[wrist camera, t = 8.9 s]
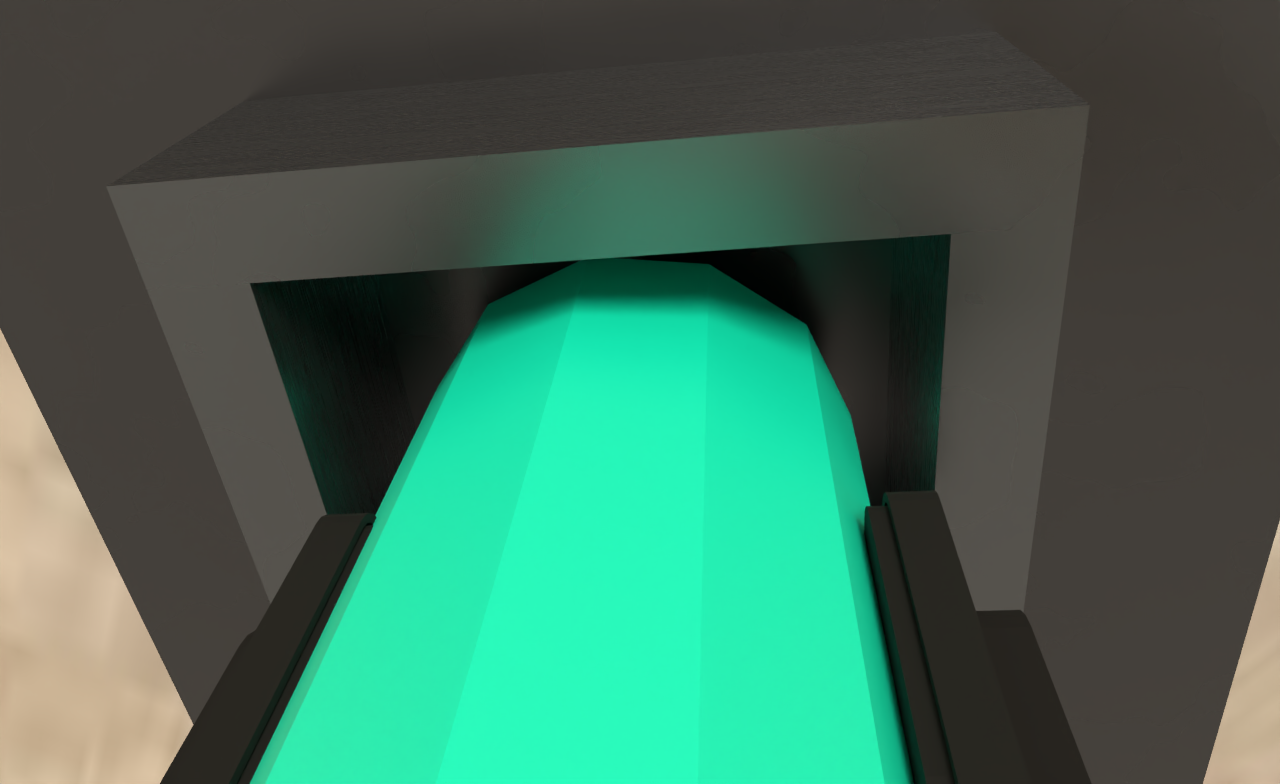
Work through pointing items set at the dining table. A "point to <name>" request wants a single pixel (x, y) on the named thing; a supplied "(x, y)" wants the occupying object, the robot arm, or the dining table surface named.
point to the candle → (612, 560)
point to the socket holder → (676, 232)
